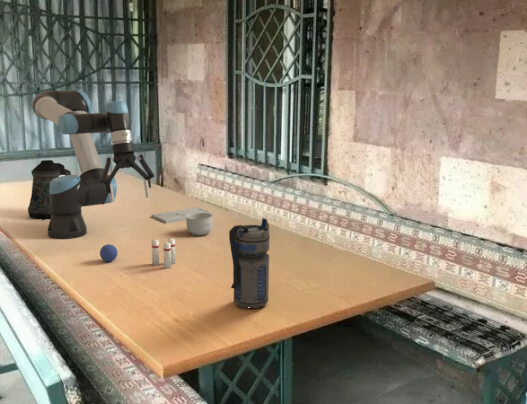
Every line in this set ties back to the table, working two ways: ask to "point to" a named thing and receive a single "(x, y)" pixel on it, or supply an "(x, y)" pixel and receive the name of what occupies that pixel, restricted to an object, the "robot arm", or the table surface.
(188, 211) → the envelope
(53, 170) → the beer stein
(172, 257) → the pin
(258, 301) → the beverage bottle
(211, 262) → the table surface
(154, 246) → the front pin
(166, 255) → the pin
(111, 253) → the ball
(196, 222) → the teacup
